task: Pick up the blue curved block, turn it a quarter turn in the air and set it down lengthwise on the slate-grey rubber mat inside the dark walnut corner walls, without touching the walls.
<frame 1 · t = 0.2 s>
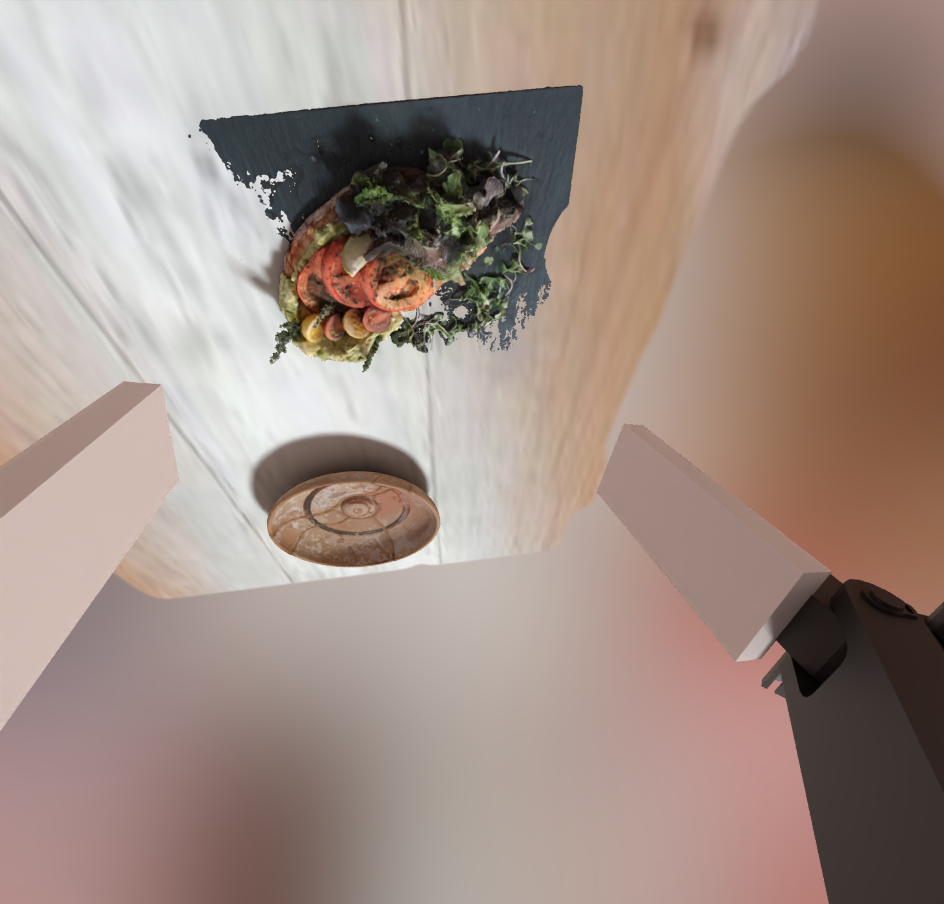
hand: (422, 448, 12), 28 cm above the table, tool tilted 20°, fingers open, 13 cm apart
ceramic bowl: (358, 501, 61), on the table
plated dish: (400, 264, 36), on the table
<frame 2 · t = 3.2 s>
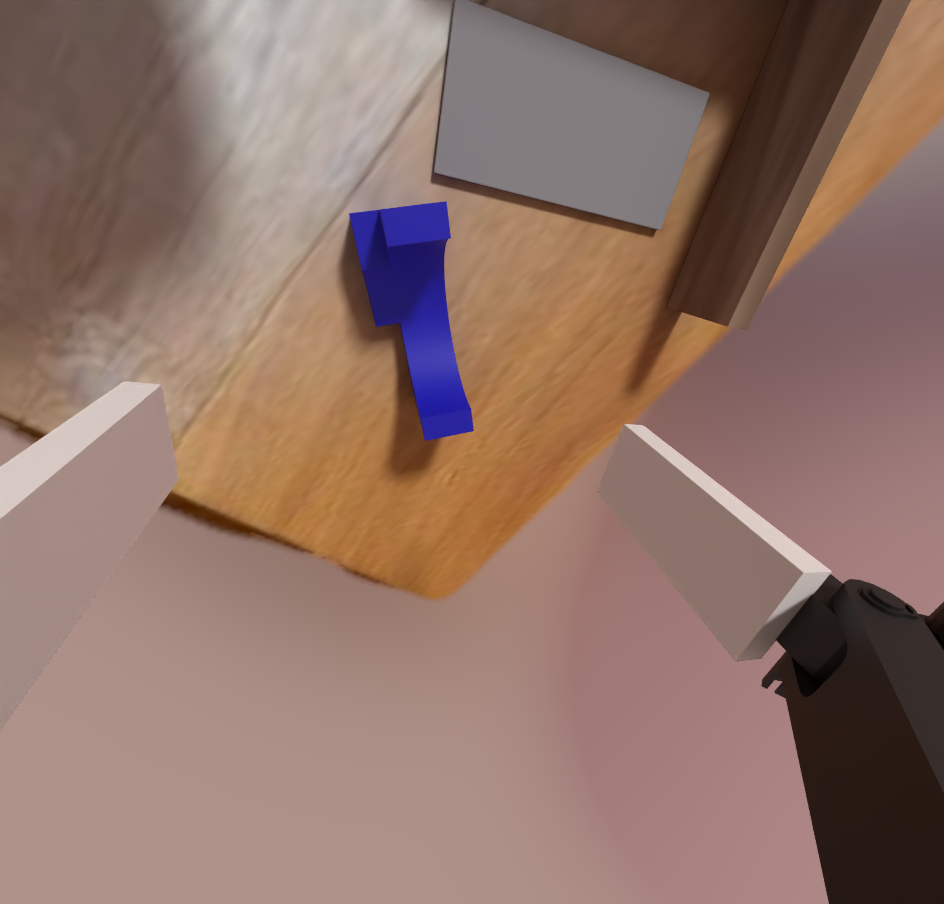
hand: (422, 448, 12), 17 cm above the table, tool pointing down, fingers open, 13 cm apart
blue curved block: (410, 314, 27), on the table
grey mat: (572, 133, 23), on the table
corner walls: (572, 133, 23), on the table
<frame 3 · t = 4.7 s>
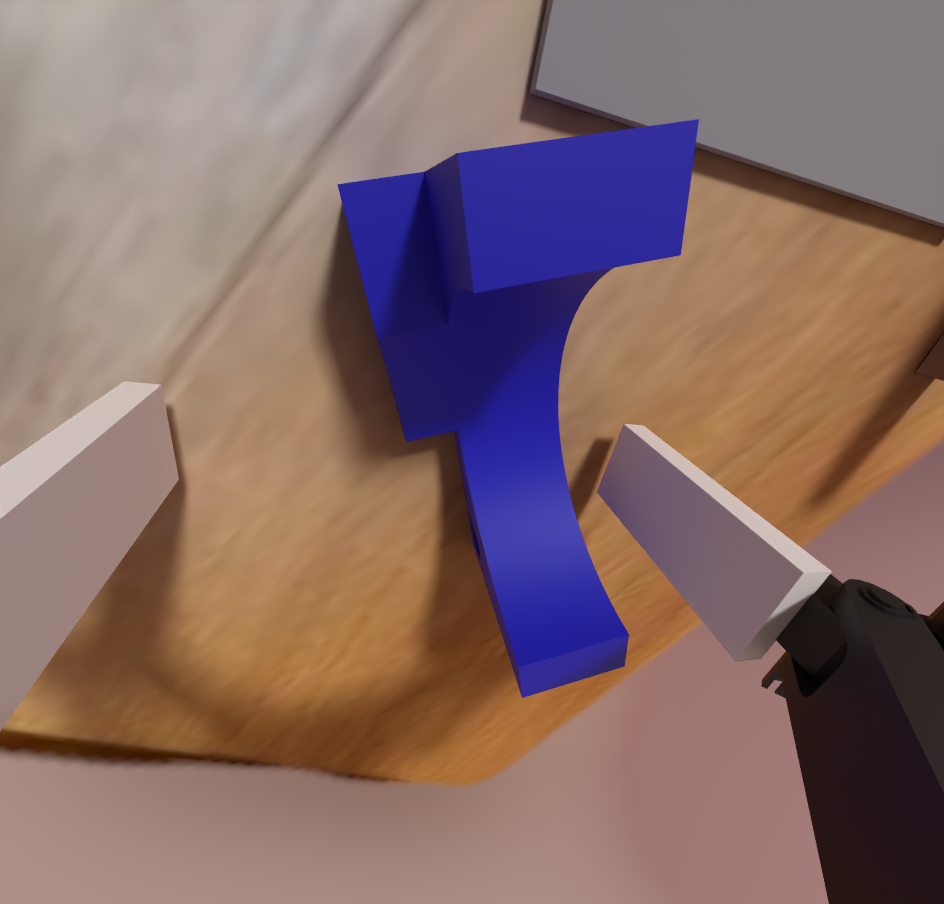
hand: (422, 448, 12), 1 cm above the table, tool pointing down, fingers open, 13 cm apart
blue curved block: (471, 400, 13), on the table
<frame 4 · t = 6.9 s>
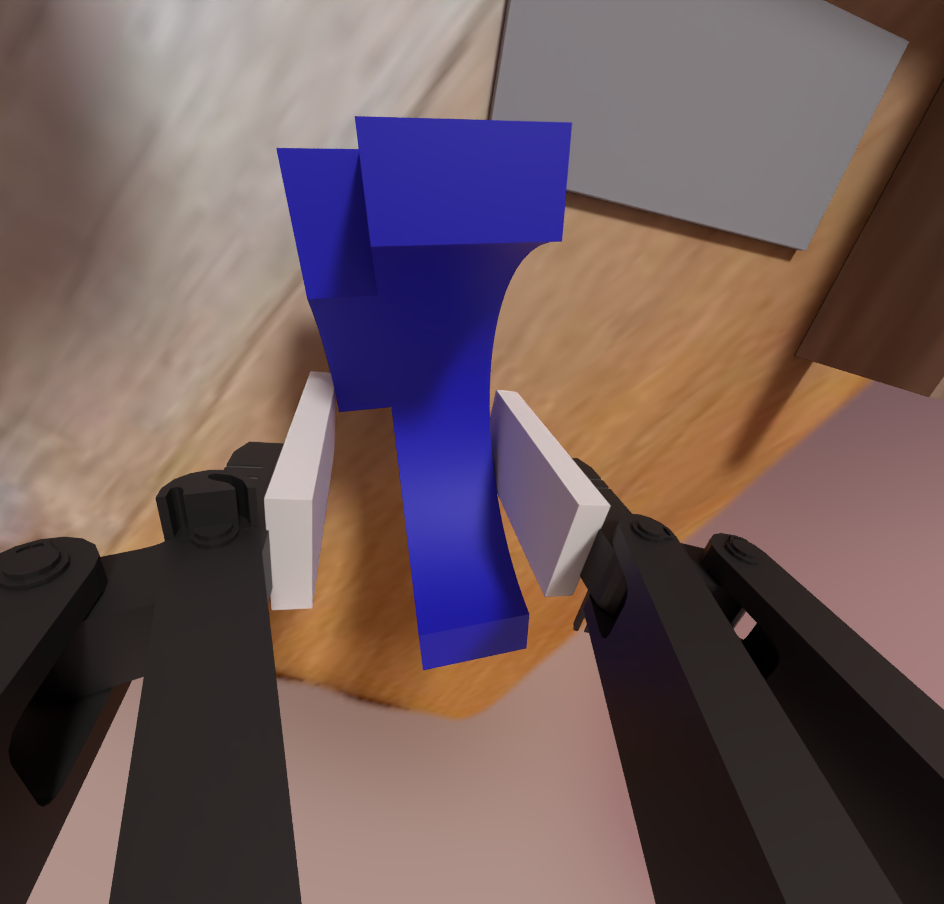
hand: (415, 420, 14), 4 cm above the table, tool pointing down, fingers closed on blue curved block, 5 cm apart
blue curved block: (411, 384, 14), point 4 cm above the table, touching gripper
grey mat: (695, 105, 15), on the table
corner walls: (695, 105, 15), on the table
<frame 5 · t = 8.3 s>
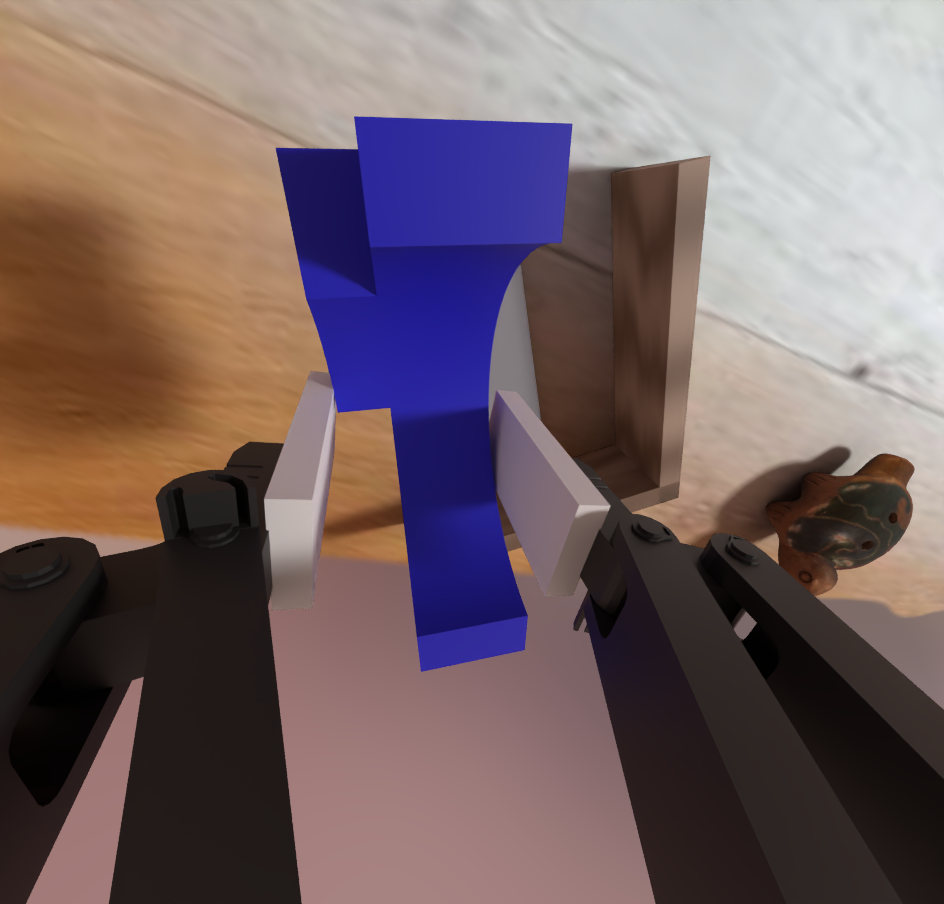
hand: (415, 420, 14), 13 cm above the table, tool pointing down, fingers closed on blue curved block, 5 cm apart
decorative turtle: (801, 495, 42), on the table
blue curved block: (410, 385, 14), point 12 cm above the table, touching gripper
grey mat: (477, 353, 27), on the table
corner walls: (477, 353, 27), on the table
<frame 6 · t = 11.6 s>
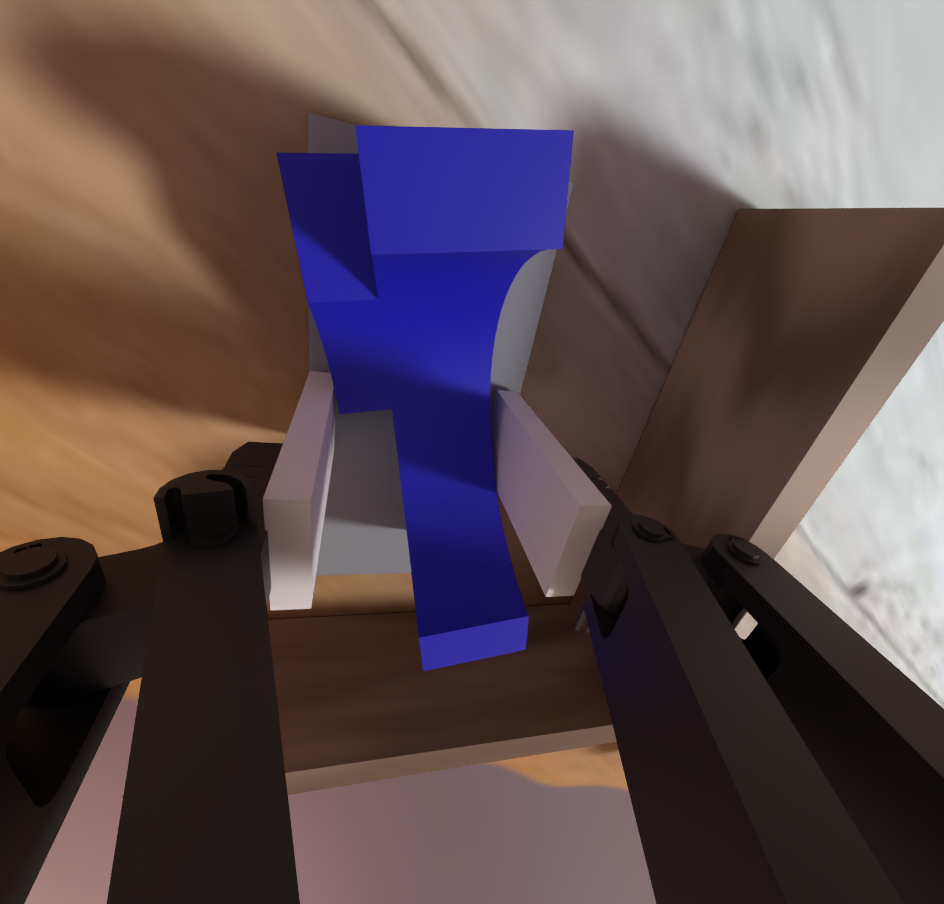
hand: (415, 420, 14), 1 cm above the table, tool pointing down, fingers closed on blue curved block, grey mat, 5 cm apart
blue curved block: (412, 386, 14), resting on grey mat, touching gripper
grey mat: (416, 410, 14), on the table
corner walls: (416, 410, 14), on the table
when the fingers open (1 cm above the table, at t = 11.8 s): blue curved block stays where it is, resting on grey mat.
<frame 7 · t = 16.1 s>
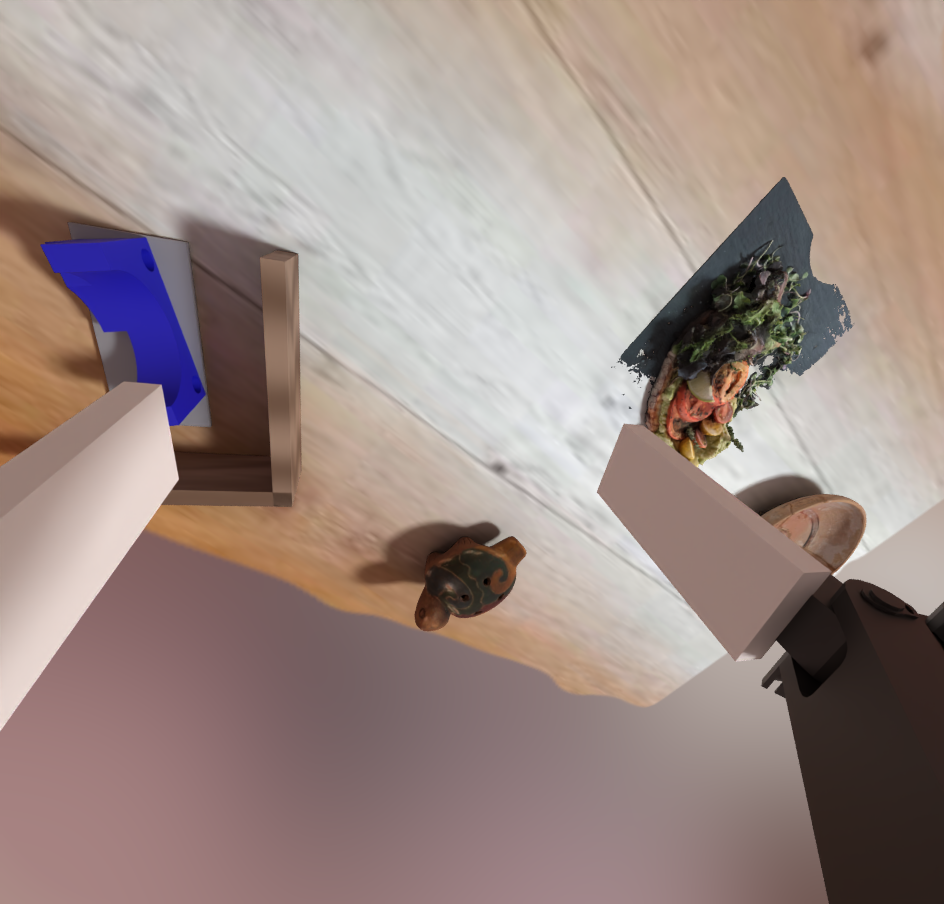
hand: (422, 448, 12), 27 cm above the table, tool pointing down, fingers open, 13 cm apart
ceramic bowl: (766, 539, 65), on the table
plated dish: (709, 368, 47), on the table
decorative turtle: (462, 554, 52), on the table
blue curved block: (148, 324, 32), resting on grey mat
grey mat: (151, 337, 32), on the table
corner walls: (151, 337, 32), on the table
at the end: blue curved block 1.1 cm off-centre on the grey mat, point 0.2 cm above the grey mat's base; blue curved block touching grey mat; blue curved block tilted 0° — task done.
